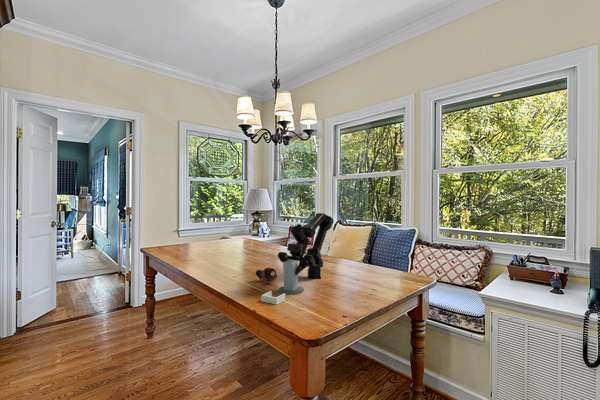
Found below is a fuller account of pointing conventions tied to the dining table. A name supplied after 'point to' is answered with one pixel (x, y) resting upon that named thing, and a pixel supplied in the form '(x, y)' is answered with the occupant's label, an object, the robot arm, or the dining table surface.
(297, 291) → the rubber mat
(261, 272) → the pottery mug
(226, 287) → the dining table surface
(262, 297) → the acrylic channel
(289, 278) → the painted block
